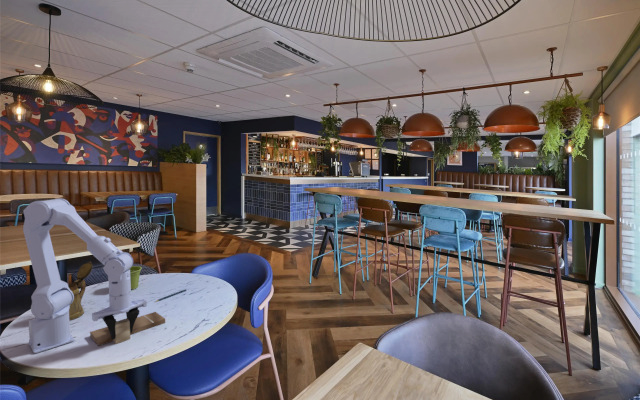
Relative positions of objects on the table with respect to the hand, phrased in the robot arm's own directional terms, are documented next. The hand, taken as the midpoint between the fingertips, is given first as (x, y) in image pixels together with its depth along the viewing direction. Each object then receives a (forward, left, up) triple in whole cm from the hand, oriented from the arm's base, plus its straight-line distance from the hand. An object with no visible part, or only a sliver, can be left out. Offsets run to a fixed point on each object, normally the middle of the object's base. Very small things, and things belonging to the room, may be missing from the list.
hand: (121, 334), depth 100 cm
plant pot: (+18, +46, -2) cm, 49 cm away
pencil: (+26, +24, -2) cm, 35 cm away
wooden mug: (-5, +33, -2) cm, 33 cm away
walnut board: (+4, +6, -2) cm, 7 cm away
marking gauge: (0, +3, -2) cm, 3 cm away
